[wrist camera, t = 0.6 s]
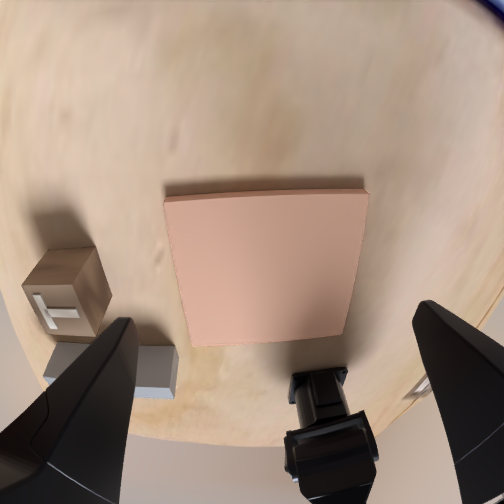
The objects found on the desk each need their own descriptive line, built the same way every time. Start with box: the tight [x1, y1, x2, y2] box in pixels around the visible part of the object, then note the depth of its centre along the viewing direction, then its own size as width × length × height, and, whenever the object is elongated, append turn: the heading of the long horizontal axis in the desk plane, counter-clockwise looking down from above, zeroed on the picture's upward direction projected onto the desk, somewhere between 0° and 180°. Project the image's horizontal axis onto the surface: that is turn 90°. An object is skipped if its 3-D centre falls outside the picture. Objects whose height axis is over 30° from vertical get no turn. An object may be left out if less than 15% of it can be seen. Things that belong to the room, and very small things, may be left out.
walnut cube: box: [21, 246, 112, 337], centre depth 21 cm, size 5×5×5 cm
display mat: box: [163, 189, 370, 346], centre depth 24 cm, size 14×14×1 cm
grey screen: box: [43, 342, 179, 399], centre depth 26 cm, size 2×14×5 cm, turn 92°
